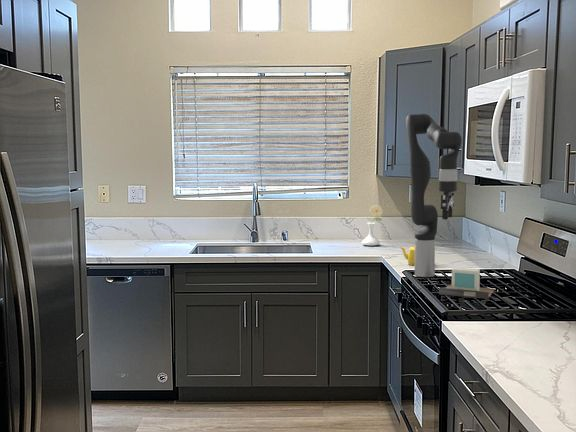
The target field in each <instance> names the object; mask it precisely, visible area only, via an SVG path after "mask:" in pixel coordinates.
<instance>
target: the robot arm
mask: <svg viewBox="0 0 576 432" xmlns="http://www.w3.org/2000/svg"><path fill="white" fill-rule="evenodd" d="M405 128H406V129H405V130H406V139H407V144H408V153H409V156H408V157H409V172H410V174H409V175H410V184H411V186H410V187H411V201H410V202H411V203H410V204H411V207H410V211H411V212H410V214H411V219H412V222H413V223H414V225H416V226H421V228H420V229H419V230H418V231H416V232H415V233H414V247H415V266H414V276H415V277H416V276H417V277H418V278H419V277H421V278H432V277H435V269H436V268H435V267H436V263H435V262H436V235H437V232H438V217H439V216H438V214H439V213H438V210H437V208H436V206H435V205H433V204H425V194H426V190H427V187H428V185H429V182H430V179H431V177H432V175H431V162H430V159H429V158H428V156H427V154H426V153H425V152H424V151H423V149H422V148H421V146H420V144H419V142H418V135H424V134H426V136H427V138H428V139H429V140H430V141H432V142H434V144H435V146H436V147H437V148H438V149H441V150H449V151H448V153H446V154H442V155H441V156H440V157H439V170H438V191H439V192H442V194H440V210H441V211H442V212H441V213H442V214H441V215H442V216H441V219H442V220H445V221H446V220H448V219H449V218H452V217H453V208H454V206H455V193H456V192H457V191H458V169H457V167H458V156H459V154H460V153H459V152H460V149H461V147H462V142H463V141H462V136H461V133H459V132H458V131H448V129H446V128H444V127H443V126H441V125H438V123H437V122H436V121H435V120H434V119H433V118H432V117H431V116H430V115H428V114H427V113H417V114H416V113H413V114H408V115H407V116H406V119H405ZM454 192H455V193H454Z"/></svg>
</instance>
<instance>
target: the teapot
mask: <svg viewBox="0 0 576 432" xmlns="http://www.w3.org/2000/svg"><path fill="white" fill-rule="evenodd" d="M399 249H401V250H402V253H403V257H404V258H405V259H406V260H407V262H408V265H409V266H414V267H415V246H410V247H409V250H408V253H407V252H406V249H405V247H403V246H402V247H401V246H399Z"/></svg>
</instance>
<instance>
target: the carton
mask: <svg viewBox="0 0 576 432" xmlns="http://www.w3.org/2000/svg"><path fill="white" fill-rule="evenodd" d="M480 273H481V269H480V268H471V267H469V268H468V267H456V266H455V267H452V269H451V285H452V289H462V290H473V291H479V288H480V287H481V286H480V282H481V281H480V280H481V279H480V277H481V274H480Z"/></svg>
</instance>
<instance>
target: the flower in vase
mask: <svg viewBox="0 0 576 432" xmlns="http://www.w3.org/2000/svg"><path fill="white" fill-rule="evenodd" d="M383 212H384V210H383V208H382V207H381V205H377V204H375V205H372V206H371V207H370V209H369V213H370V214H371V217H372V216H373V217H374V219H371V218H369V217H366V219H367V220H369V221H372V222H366V224H367V226H368V235H367V236H366V237H365V238H364V239H362V241H361V244H362V245H364V246H370V247H371V246H372V247H374V246H378V245H380V244H381V241H380V240H379V239H378V238H377V237H375V235H374V226H375V224H376V222H380V221H382V218H380V217H381V216H382V215H383ZM374 221H376V222H374Z"/></svg>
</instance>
